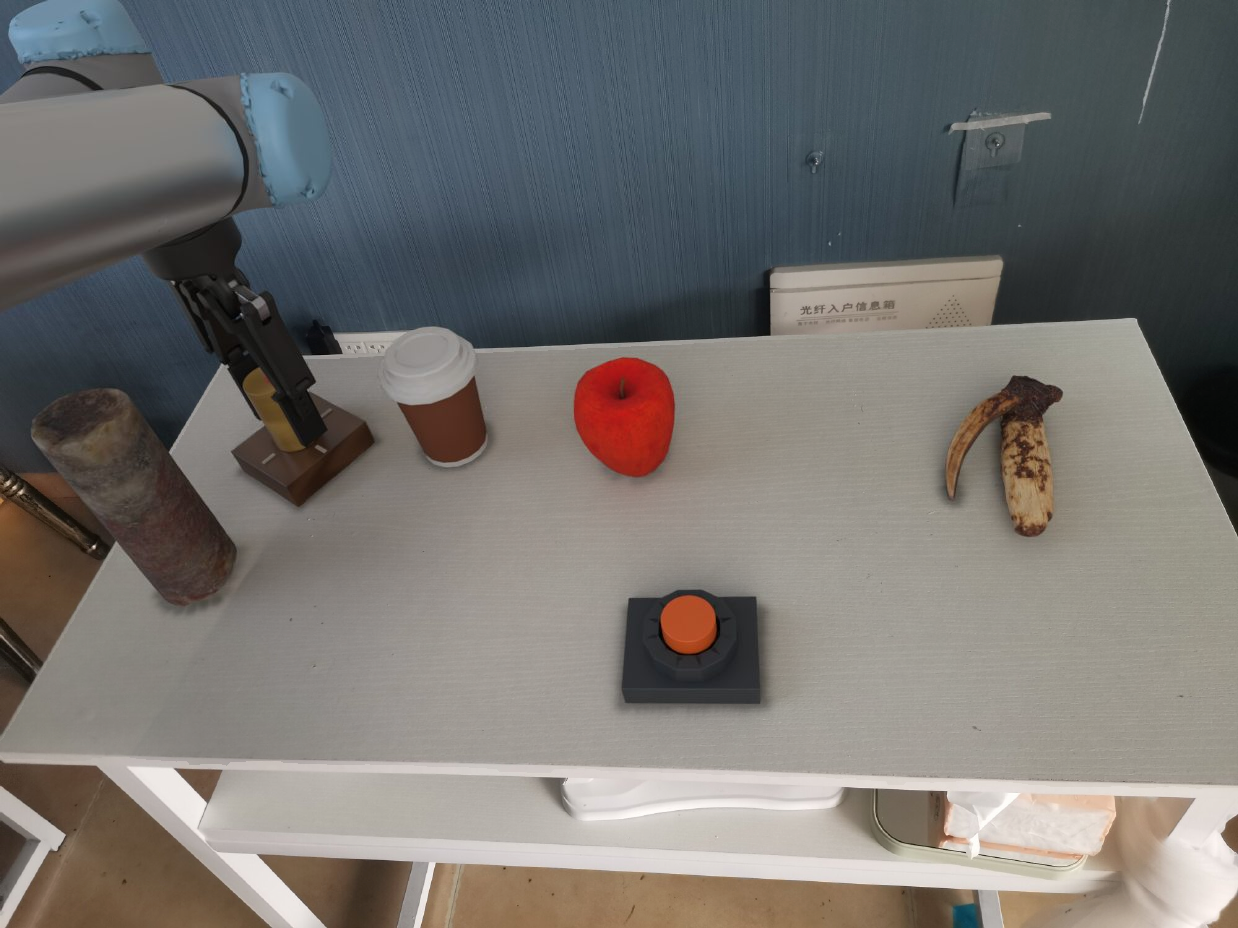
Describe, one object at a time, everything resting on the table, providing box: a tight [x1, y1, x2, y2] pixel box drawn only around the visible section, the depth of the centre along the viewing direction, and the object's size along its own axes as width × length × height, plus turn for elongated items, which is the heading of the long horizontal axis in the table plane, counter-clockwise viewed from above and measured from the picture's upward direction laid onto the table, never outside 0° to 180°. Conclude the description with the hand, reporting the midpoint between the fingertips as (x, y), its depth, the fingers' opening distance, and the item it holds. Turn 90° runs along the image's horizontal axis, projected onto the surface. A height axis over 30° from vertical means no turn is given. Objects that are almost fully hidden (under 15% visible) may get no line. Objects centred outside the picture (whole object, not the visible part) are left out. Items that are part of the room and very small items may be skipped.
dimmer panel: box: [230, 390, 376, 508], centre depth 88 cm, size 10×9×3 cm
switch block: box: [621, 588, 761, 705], centre depth 67 cm, size 10×8×4 cm
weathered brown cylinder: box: [30, 387, 238, 607], centre depth 73 cm, size 8×7×20 cm
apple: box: [573, 356, 676, 478], centre depth 79 cm, size 9×9×11 cm
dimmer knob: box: [243, 367, 312, 452], centre depth 84 cm, size 4×4×8 cm
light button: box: [661, 595, 717, 654], centre depth 65 cm, size 4×4×2 cm
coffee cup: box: [377, 325, 489, 468], centre depth 83 cm, size 9×9×12 cm
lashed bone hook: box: [944, 374, 1064, 538], centre depth 75 cm, size 9×5×18 cm
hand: (291, 423), depth 86 cm, fingers open, 6 cm apart
